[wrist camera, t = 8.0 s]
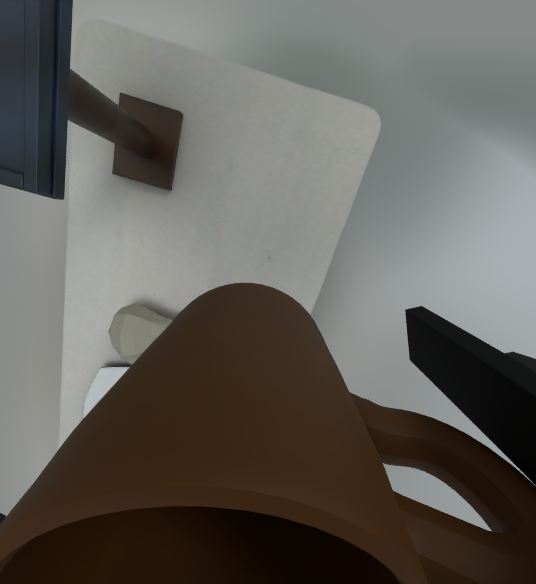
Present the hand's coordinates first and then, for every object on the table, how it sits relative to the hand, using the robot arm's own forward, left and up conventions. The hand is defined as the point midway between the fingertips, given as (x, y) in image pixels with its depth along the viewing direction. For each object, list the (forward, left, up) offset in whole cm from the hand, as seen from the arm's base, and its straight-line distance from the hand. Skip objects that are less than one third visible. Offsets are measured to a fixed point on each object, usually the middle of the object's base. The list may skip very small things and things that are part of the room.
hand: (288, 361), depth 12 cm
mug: (0, 0, -1) cm, 1 cm away
